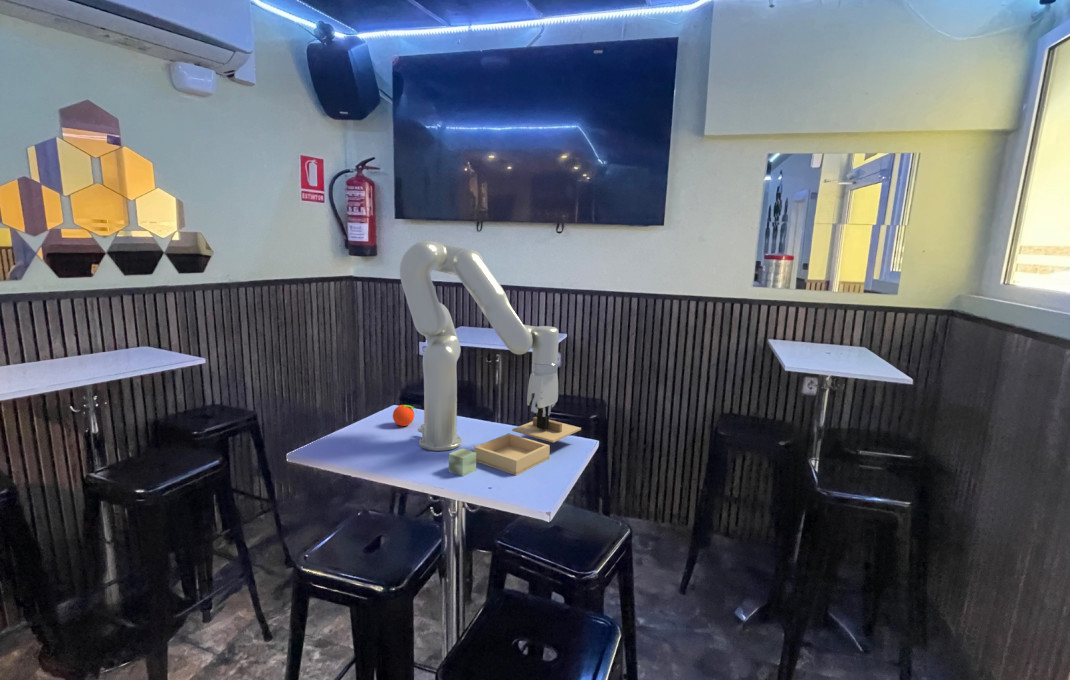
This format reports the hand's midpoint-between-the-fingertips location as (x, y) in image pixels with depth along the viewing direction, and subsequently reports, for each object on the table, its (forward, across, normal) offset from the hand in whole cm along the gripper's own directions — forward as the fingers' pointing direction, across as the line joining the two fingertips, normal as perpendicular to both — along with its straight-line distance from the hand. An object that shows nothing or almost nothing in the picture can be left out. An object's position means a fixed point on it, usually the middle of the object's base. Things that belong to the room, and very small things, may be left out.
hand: (542, 428), depth 156 cm
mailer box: (+6, +14, 0) cm, 15 cm away
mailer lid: (+1, -2, 0) cm, 3 cm away
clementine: (+6, +15, -45) cm, 48 cm away
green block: (+6, +29, -5) cm, 30 cm away
